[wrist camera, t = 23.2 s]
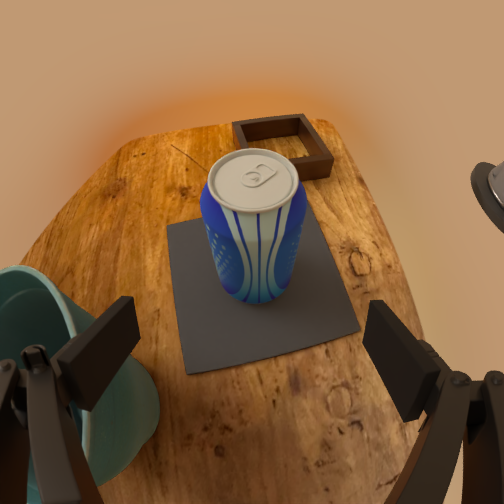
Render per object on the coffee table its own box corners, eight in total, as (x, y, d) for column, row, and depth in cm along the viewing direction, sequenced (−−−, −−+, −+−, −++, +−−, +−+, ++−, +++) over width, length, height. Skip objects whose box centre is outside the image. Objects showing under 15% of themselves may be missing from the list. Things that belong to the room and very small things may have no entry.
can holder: (329, 177, 42) (334, 158, 39) (249, 190, 41) (249, 170, 38) (301, 130, 49) (303, 113, 45) (233, 140, 48) (231, 122, 44)
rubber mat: (359, 330, 30) (361, 329, 30) (187, 374, 28) (186, 374, 28) (305, 199, 40) (306, 196, 40) (167, 227, 38) (166, 225, 38)
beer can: (295, 303, 32) (323, 217, 18) (221, 310, 31) (192, 228, 18) (285, 241, 36) (298, 139, 22) (218, 247, 36) (197, 146, 22)
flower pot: (215, 364, 27) (134, 325, 12) (161, 500, 20) (64, 557, 5) (91, 305, 32) (-5, 240, 17) (49, 421, 24) (-55, 405, 9)
